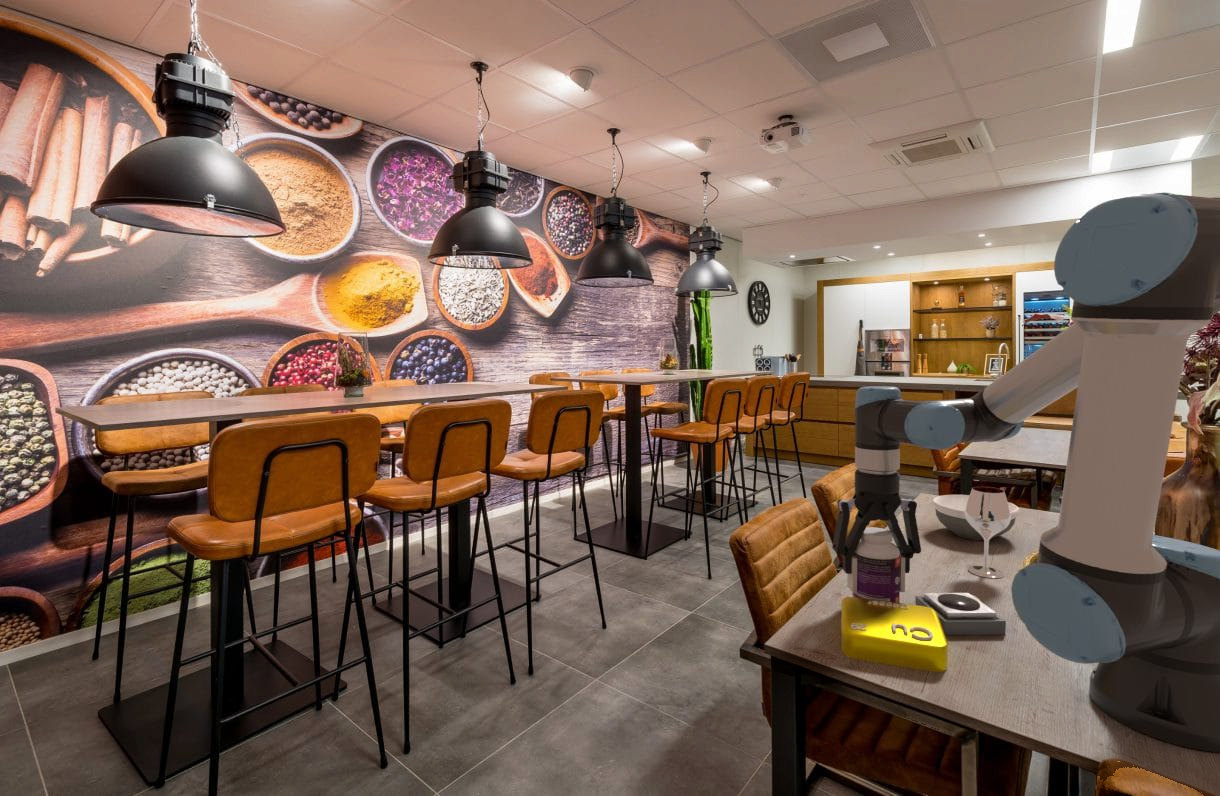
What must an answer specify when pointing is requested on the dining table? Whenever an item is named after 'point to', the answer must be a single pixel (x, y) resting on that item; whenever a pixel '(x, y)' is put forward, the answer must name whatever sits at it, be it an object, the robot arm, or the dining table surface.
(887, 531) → the pill bottle
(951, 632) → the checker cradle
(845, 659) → the dining table surface
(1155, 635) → the robot arm
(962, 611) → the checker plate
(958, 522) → the bowl
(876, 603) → the element tile
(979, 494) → the wineglass
